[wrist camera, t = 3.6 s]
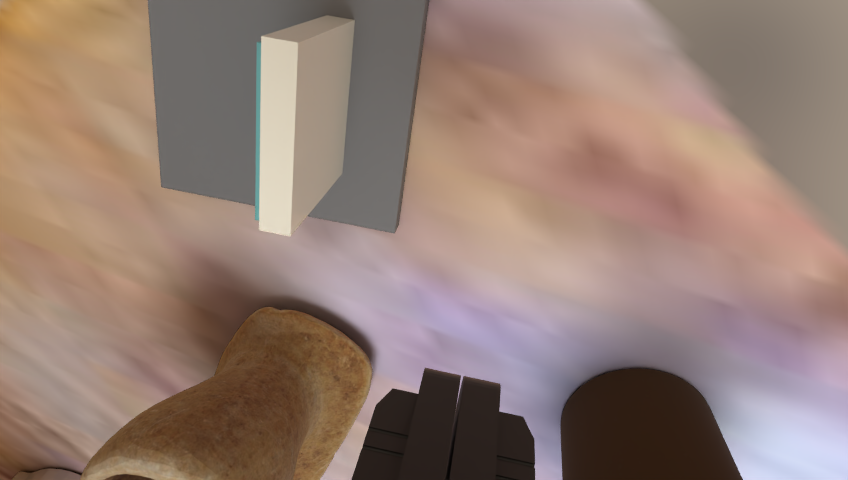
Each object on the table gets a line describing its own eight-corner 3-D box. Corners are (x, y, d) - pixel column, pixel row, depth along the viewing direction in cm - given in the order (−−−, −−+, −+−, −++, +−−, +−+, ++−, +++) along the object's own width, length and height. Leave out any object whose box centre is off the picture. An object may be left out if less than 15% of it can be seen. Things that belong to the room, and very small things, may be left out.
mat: (172, 179, 35) (161, 187, 34) (155, -83, 29) (141, -84, 28) (398, 224, 34) (394, 233, 33) (433, -38, 28) (430, -37, 27)
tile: (312, 167, 32) (252, 228, 25) (320, 14, 28) (253, 34, 21) (342, 173, 32) (290, 236, 25) (354, 20, 28) (297, 42, 21)
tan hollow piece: (235, 261, 37) (74, 434, 24) (399, 347, 38) (332, 559, 25) (173, 411, 44) (21, 610, 31) (313, 480, 45) (225, 702, 32)
